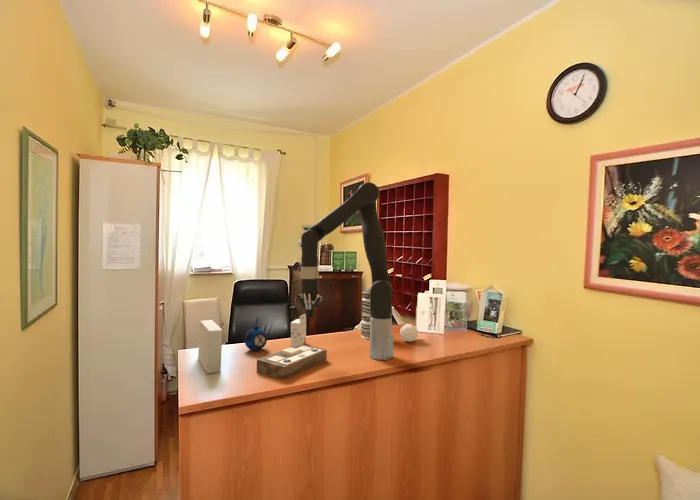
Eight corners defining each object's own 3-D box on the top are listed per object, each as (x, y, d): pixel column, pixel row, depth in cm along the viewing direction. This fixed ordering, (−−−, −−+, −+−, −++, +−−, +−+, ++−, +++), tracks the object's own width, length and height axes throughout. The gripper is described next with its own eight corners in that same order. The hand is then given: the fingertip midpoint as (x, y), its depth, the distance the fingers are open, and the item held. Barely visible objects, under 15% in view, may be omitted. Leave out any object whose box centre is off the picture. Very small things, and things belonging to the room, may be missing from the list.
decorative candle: (356, 336, 181) (357, 289, 181) (370, 333, 187) (370, 287, 187) (368, 340, 174) (368, 291, 174) (381, 337, 180) (382, 289, 179)
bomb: (249, 355, 148) (250, 320, 148) (241, 349, 157) (241, 316, 156) (271, 351, 154) (271, 318, 153) (262, 345, 162) (262, 314, 162)
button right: (312, 355, 144) (312, 347, 144) (304, 358, 140) (304, 350, 140) (303, 352, 147) (303, 345, 147) (295, 355, 143) (295, 348, 143)
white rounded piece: (414, 341, 166) (425, 339, 175) (410, 322, 169) (421, 321, 178) (398, 344, 171) (410, 342, 180) (395, 325, 174) (407, 324, 183)
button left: (285, 365, 131) (285, 358, 131) (275, 369, 127) (276, 361, 127) (276, 363, 134) (276, 355, 134) (266, 366, 130) (266, 359, 130)
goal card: (322, 350, 141) (322, 349, 141) (286, 365, 124) (286, 363, 124) (314, 348, 144) (314, 347, 144) (277, 362, 126) (277, 361, 126)
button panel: (326, 360, 143) (326, 349, 143) (283, 379, 122) (284, 367, 122) (300, 354, 151) (301, 344, 150) (256, 371, 130) (256, 359, 130)
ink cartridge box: (296, 342, 169) (296, 312, 168) (306, 343, 168) (306, 313, 167) (290, 347, 160) (290, 316, 160) (300, 348, 159) (300, 316, 159)
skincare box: (222, 371, 129) (222, 329, 129) (206, 374, 126) (207, 331, 126) (211, 356, 147) (212, 318, 146) (197, 358, 144) (198, 320, 143)
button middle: (299, 356, 138) (299, 349, 138) (290, 360, 134) (291, 352, 133) (290, 354, 140) (290, 347, 140) (281, 357, 136) (281, 350, 136)
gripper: (327, 277, 145) (327, 318, 146) (303, 275, 152) (303, 314, 153) (316, 278, 139) (317, 321, 139) (292, 277, 146) (292, 317, 146)
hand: (310, 317), depth 146 cm, fingers closed
